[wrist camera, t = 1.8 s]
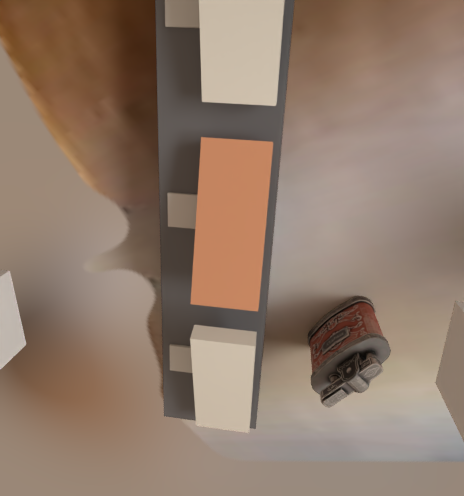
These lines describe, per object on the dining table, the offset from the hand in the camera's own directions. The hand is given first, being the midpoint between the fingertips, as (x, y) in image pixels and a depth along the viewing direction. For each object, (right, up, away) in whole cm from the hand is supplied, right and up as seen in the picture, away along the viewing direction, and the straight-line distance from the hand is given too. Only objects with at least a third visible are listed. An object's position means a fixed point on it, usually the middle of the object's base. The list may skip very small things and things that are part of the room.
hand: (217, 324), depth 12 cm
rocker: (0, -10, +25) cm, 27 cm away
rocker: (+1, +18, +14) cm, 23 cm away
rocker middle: (0, +4, +20) cm, 20 cm away
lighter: (+12, -6, +31) cm, 33 cm away
